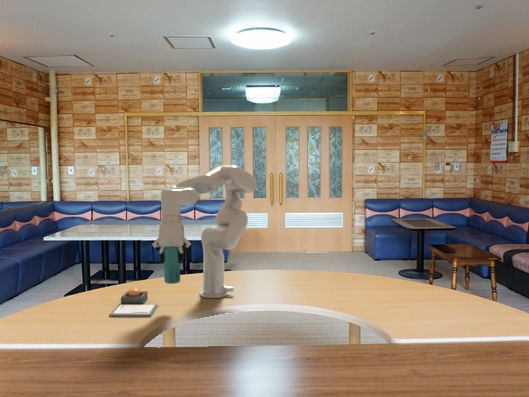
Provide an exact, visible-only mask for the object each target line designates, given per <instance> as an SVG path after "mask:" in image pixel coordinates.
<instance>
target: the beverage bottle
mask: <svg viewBox="0 0 529 397" xmlns="http://www.w3.org/2000/svg"><path fill="white" fill-rule="evenodd" d="M179 253H180V251H179V249H178V247H165V248H164V263H163V264H164V265H163V268H164V270H163V272H164V279H163V280H164V283H165V284H168V285H170V284H171V285H172V284H179V283H180V282H181V263H179Z"/></svg>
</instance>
